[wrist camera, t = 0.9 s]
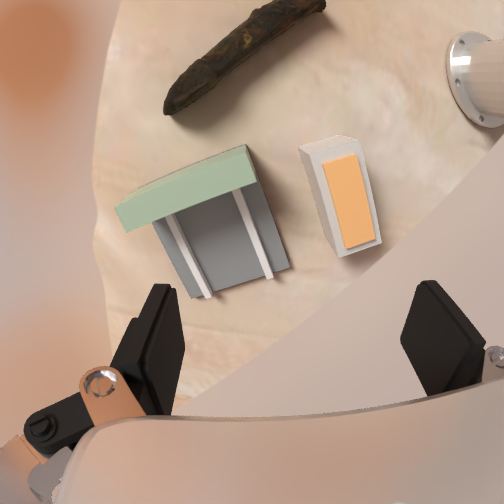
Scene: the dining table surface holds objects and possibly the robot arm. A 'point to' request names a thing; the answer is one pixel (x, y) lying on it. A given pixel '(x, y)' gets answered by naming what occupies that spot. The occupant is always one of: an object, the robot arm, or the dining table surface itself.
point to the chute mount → (210, 222)
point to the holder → (342, 193)
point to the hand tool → (237, 49)
